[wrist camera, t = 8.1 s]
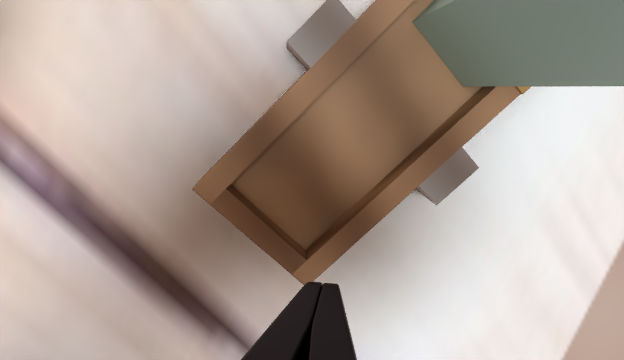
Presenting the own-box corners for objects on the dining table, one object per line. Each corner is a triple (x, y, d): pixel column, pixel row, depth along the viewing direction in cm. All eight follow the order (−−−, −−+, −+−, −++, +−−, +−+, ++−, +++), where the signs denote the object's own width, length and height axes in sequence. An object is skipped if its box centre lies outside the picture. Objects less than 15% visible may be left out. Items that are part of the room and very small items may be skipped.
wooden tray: (321, 280, 22) (325, 305, 19) (181, 157, 19) (165, 168, 17) (570, 56, 19) (613, 51, 17) (451, -125, 17) (481, -163, 14)
